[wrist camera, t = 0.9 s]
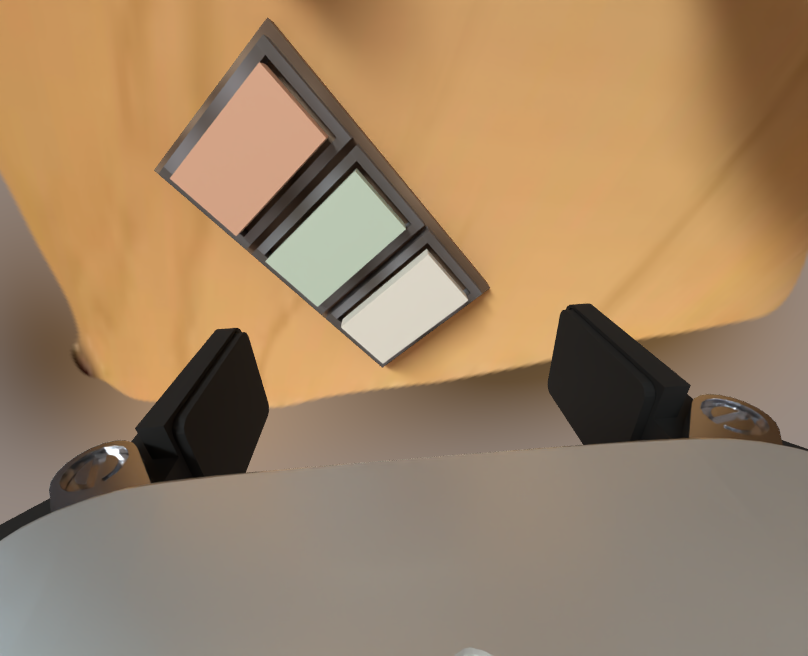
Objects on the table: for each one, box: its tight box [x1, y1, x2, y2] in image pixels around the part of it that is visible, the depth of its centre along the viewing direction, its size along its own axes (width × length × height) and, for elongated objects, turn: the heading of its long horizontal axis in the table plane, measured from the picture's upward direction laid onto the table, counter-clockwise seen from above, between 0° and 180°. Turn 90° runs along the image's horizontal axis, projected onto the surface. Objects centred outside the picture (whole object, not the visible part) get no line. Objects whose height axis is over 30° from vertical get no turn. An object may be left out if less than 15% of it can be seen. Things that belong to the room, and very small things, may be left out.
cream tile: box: [341, 249, 468, 364], centre depth 35 cm, size 11×6×2 cm, turn 131°
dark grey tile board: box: [154, 18, 490, 368], centre depth 33 cm, size 15×28×3 cm, turn 41°
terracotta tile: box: [170, 62, 329, 236], centre depth 28 cm, size 11×6×2 cm, turn 131°
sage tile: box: [265, 169, 406, 307], centre depth 31 cm, size 11×6×2 cm, turn 131°
